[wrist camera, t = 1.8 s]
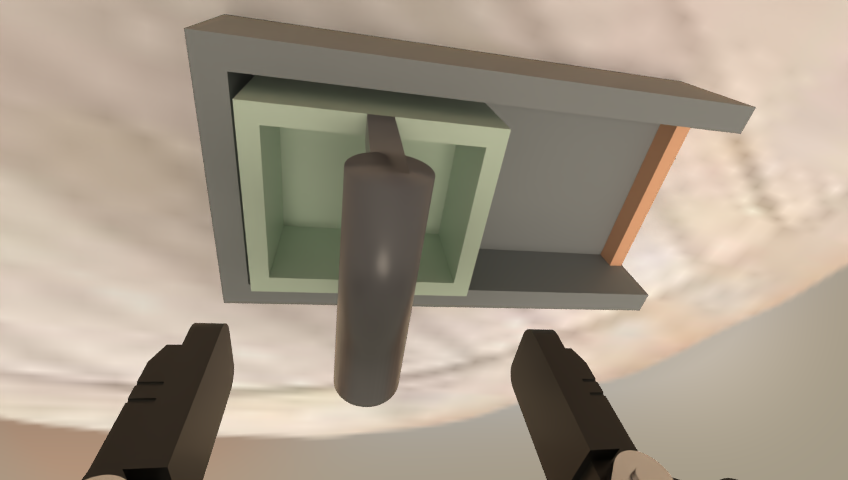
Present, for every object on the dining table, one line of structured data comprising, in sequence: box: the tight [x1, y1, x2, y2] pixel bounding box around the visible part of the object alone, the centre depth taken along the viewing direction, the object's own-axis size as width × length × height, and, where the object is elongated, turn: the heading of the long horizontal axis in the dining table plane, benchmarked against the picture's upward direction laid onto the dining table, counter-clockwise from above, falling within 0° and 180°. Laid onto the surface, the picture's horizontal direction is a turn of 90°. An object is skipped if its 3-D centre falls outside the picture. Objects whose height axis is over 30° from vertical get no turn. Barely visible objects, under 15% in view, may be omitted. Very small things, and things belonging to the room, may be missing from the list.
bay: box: [184, 14, 756, 310], centre depth 21 cm, size 12×23×5 cm, turn 82°
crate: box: [233, 75, 511, 407], centre depth 17 cm, size 8×10×11 cm
